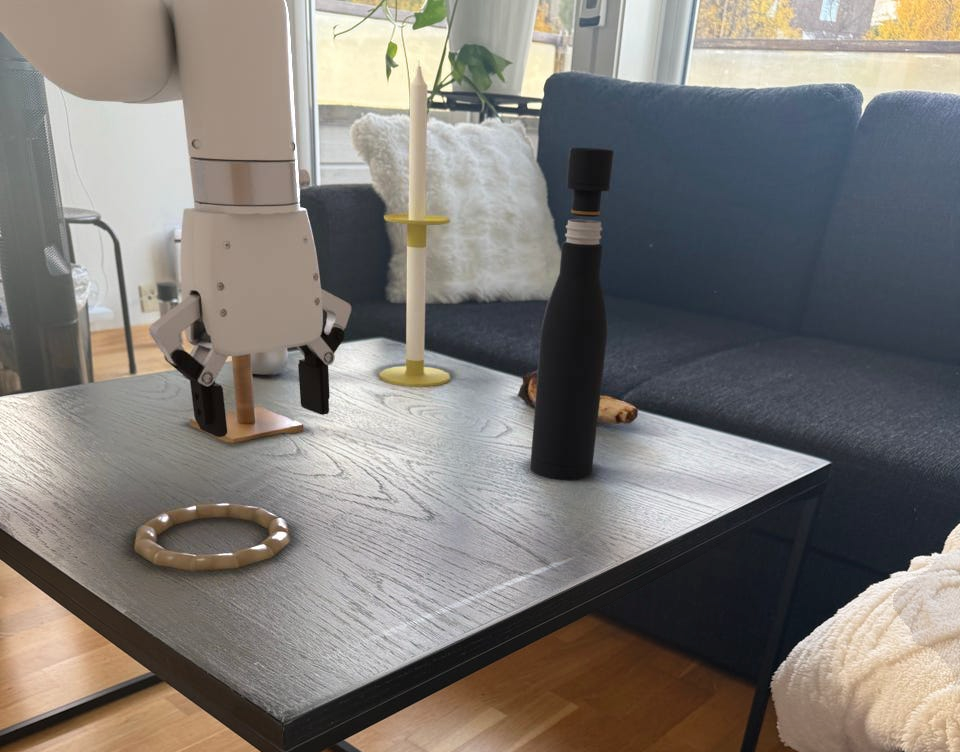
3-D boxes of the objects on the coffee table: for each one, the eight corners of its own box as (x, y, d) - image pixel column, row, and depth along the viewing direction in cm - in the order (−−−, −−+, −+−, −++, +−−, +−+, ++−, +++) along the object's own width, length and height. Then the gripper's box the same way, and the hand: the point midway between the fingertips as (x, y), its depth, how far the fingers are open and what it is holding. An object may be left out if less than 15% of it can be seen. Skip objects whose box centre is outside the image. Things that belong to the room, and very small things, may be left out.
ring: (185, 593, 69) (182, 573, 68) (110, 541, 76) (106, 523, 75) (318, 551, 76) (317, 533, 76) (238, 507, 84) (237, 491, 83)
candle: (462, 375, 130) (474, 64, 112) (429, 390, 122) (436, 58, 104) (401, 365, 134) (403, 62, 115) (365, 379, 126) (360, 56, 107)
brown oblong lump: (487, 412, 116) (601, 443, 105) (487, 374, 114) (604, 403, 103) (535, 397, 122) (648, 426, 111) (536, 361, 120) (652, 387, 109)
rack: (233, 449, 98) (222, 320, 91) (190, 429, 103) (176, 306, 96) (304, 434, 103) (298, 312, 97) (259, 416, 109) (250, 298, 102)
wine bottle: (520, 477, 94) (544, 146, 79) (543, 460, 99) (570, 146, 85) (579, 489, 92) (615, 151, 77) (599, 470, 97) (637, 150, 82)
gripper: (313, 182, 74) (325, 394, 82) (107, 186, 63) (144, 430, 72) (372, 188, 69) (378, 413, 78) (160, 195, 59) (194, 454, 67)
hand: (266, 421), depth 75 cm, fingers open, 9 cm apart
